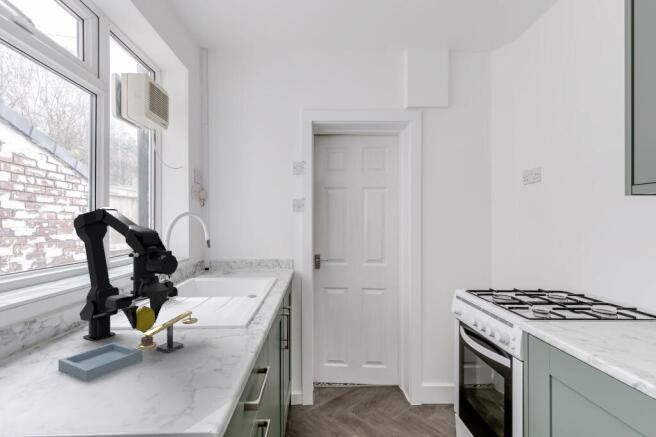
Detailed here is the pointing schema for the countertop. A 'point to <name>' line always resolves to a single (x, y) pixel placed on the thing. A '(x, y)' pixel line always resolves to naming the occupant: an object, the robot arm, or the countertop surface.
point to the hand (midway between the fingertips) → (144, 325)
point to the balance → (170, 345)
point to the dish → (99, 361)
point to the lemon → (145, 319)
